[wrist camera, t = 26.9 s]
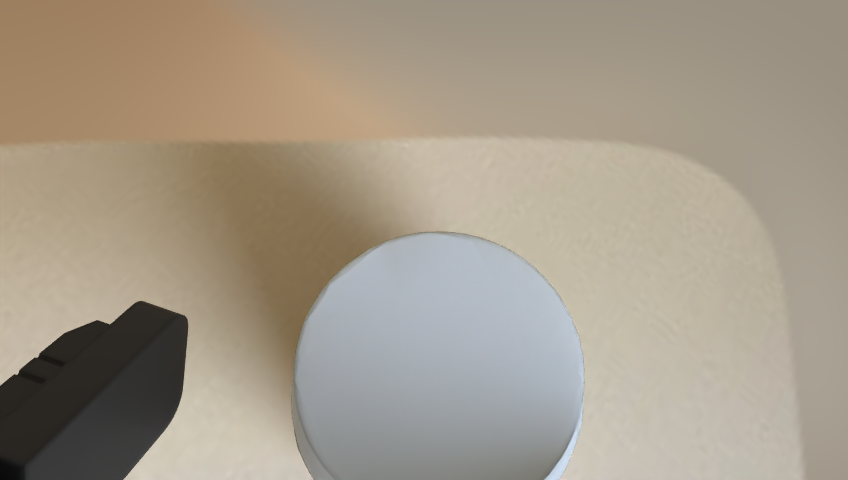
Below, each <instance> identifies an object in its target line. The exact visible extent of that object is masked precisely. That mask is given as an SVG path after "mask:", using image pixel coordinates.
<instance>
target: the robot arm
mask: <svg viewBox="0 0 848 480" xmlns="http://www.w3.org/2000/svg"><path fill="white" fill-rule="evenodd" d="M187 336H188V320H187V318H186V316H184V315H181V314H179V313H176V312H173V311H170V310H167V309H164V308H161V307H158V306H155V305H153V304H150V303H147V302H144V301H139V302H136V303H135V304H133V305H132V306H131V307H130V308H128V309H127V310H126V311H125V312H124V313H123V314H122V315H120V316H119V317H118V318H117V319H116V320H115V321H114V322H112V323H111V324H107V323H104V322H101V321H98V320H96V321H94V322H91V323H89V324H86V325H84V326H81V327H79V328H76V329H74V330H71V331H69V332H66V333H64V334H63V335H62V336H60V337H59V338H58V339H57V340H55V341H54V342H53V343H52V344H51V345H49V346H48V347H47V348H46V349H44V350H43V351H42V352H41V353H40V354H39V357H38V358H34V359H32V360H31V361H30V362H29V363H27V364H26V365H25V366H24V367H23V368H21V369H20V370H19V373H18V375H15V374H14V375H13V376H12V377H10V378H9V379H8V380H7V381H5V382H4V383H3V384H2V385H1V386H0V480H123V479H124V478H125V477H126V476H127V475H128V473H129V472H130V471H131V470H132V469H133V468H134V466H135V465H136V464H137V463H138V462H139V460H140V459H141V458H142V457H143V456H144V454H145V453H146V452H147V451H148V450H149V448H150V447H151V446H152V445H153V444H154V442H155V441H156V440H157V439H158V438H159V437H160V435H161V434H162V433H163V432H164V431H165V429H166V428H167V427H168V425H169V424H170V422H171V420H172V419H173V417H174V415H175V413H176V411H177V408H178V406H179V403H180V400H181V396H182V391H183V381H184V370H185V359H186V347H187Z"/></svg>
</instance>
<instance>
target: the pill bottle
mask: <svg viewBox="0 0 848 480" xmlns="http://www.w3.org/2000/svg"><path fill="white" fill-rule="evenodd" d="M583 394H584V361H583V354H582V348H581V344H580V339H579V336H578V333H577V330H576V327H575V325H574V322H573V320H572V317H571V315H570V313H569V312H568V310H567V308H566V306H565V304H564V302H563V301H562V299H561V298H560V296H559V295H558V293H557V292H556V291H555V289H554V288H553V287H552V285H551V284H550V283H549V282H548V281H547V280H546V279H545V277H544V276H543V275H542V274H541V273H540V272H539V271H538V270H537V269H536V268H534V267H533V266H532V265H531V264H530V263H528V262H527V261H526V260H524V259H523V258H522V257H520V256H519V255H517V254H516V253H514V252H512V251H510V250H509V249H507V248H505V247H503V246H501V245H499V244H496V243H494V242H491V241H489V240H486V239H484V238H480V237H476V236H472V235H468V234H462V233H455V232H421V233H414V234H409V235H404V236H401V237H397V238H394V239H391V240H388V241H385V242H383V243H380V244H378V245H376V246H374V247H372V248H370V249H368V250H367V251H365V252H364V253H362V254H360V255H359V256H357V257H356V258H355V259H353V260H352V261H350V262H349V263H348V264H347V265H345V266H344V267H343V268H342V269H341V270H340V271H339V272H338V273H337V274H336V275H335V276H334V277H333V278H332V279H331V280H330V281H329V282H328V283H327V284H326V286H325V287H324V288H323V289H322V291H321V292H320V294H319V295H318V297H317V299H316V300H315V302H314V303H313V305H312V307H311V309H310V310H309V312H308V314H307V316H306V319H305V321H304V323H303V326H302V329H301V332H300V336H299V339H298V343H297V347H296V352H295V359H294V373H293V384H292V397H291V400H292V419H293V426H294V431H295V437H296V441H297V446H298V449H299V452H300V454H301V456H302V458H303V461H304V463H305V465H306V467H307V469H308V471H309V472H310V474H311V476H312V477H313V479H314V480H559V479H560V477H561V476H562V474H563V472H564V470H565V468H566V466H567V464H568V462H569V461H570V458H571V455H572V453H573V450H574V448H575V445H576V442H577V439H578V436H579V432H580V427H581V421H582V413H583Z"/></svg>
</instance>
